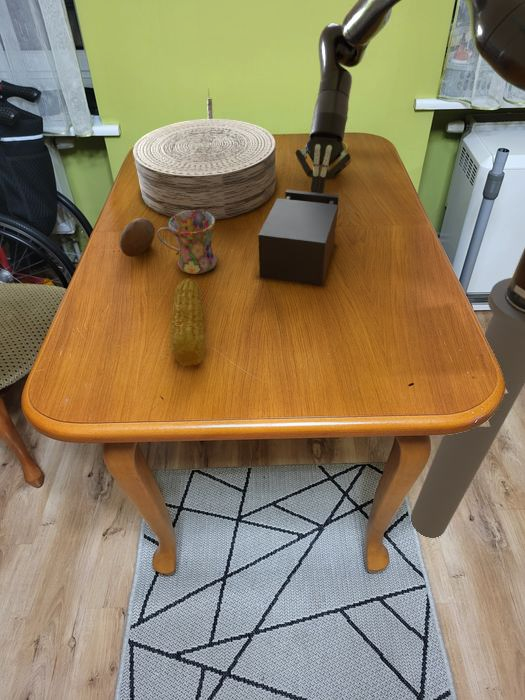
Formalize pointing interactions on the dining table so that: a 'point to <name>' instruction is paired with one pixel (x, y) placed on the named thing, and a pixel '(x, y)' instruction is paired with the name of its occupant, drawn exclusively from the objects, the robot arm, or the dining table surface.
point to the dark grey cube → (297, 241)
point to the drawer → (312, 197)
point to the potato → (137, 237)
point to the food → (187, 324)
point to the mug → (192, 240)
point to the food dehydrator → (206, 166)
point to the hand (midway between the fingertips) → (316, 195)
